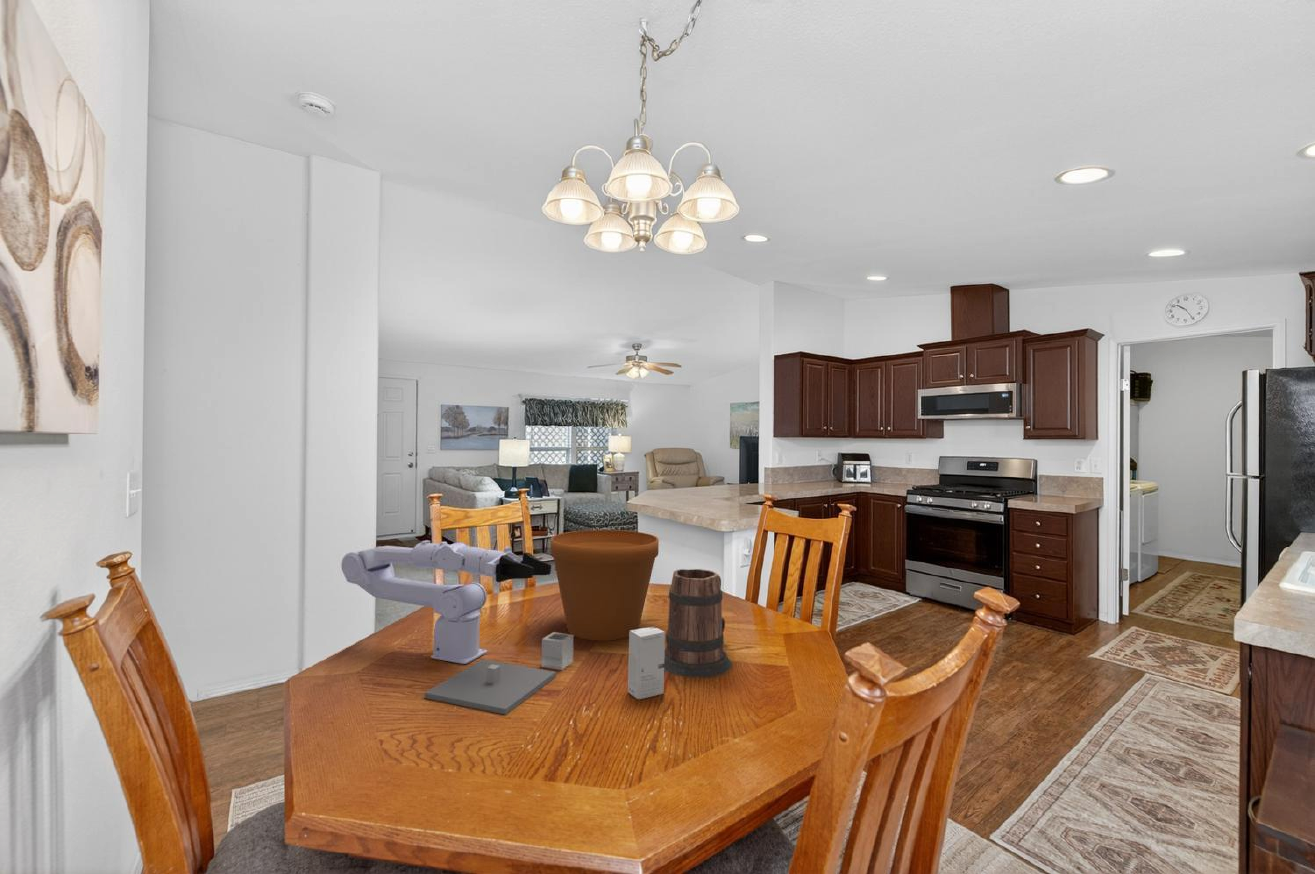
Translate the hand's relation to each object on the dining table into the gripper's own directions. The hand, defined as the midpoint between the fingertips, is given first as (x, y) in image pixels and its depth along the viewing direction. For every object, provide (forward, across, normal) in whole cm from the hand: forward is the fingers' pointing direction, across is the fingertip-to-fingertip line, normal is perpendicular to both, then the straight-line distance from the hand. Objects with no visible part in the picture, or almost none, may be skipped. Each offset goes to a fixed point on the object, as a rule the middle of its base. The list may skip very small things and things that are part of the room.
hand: (541, 571), depth 126 cm
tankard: (+32, +22, +17) cm, 42 cm away
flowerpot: (+3, +32, +17) cm, 36 cm away
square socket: (+3, +6, +20) cm, 21 cm away
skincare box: (+26, 0, +20) cm, 33 cm away
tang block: (-3, -8, +22) cm, 24 cm away
